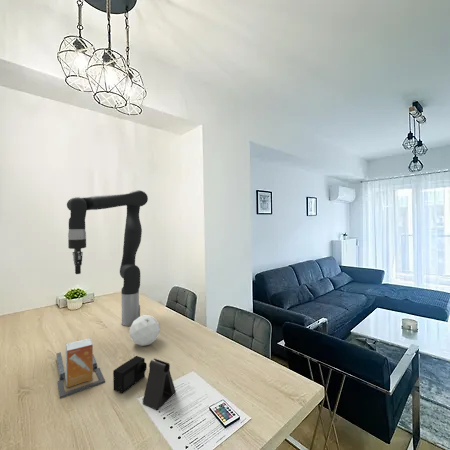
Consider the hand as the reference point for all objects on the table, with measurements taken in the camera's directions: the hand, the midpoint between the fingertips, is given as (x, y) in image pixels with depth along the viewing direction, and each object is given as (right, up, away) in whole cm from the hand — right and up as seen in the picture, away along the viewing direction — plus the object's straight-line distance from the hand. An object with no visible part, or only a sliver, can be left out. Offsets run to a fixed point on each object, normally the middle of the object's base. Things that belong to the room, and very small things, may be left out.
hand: (77, 273), depth 123 cm
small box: (+19, -32, -32) cm, 49 cm away
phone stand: (+51, -32, -42) cm, 73 cm away
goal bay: (+20, -32, -33) cm, 50 cm away
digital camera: (+39, -33, -34) cm, 61 cm away
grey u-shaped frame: (+12, -32, -22) cm, 41 cm away
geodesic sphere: (+34, -32, -5) cm, 47 cm away
